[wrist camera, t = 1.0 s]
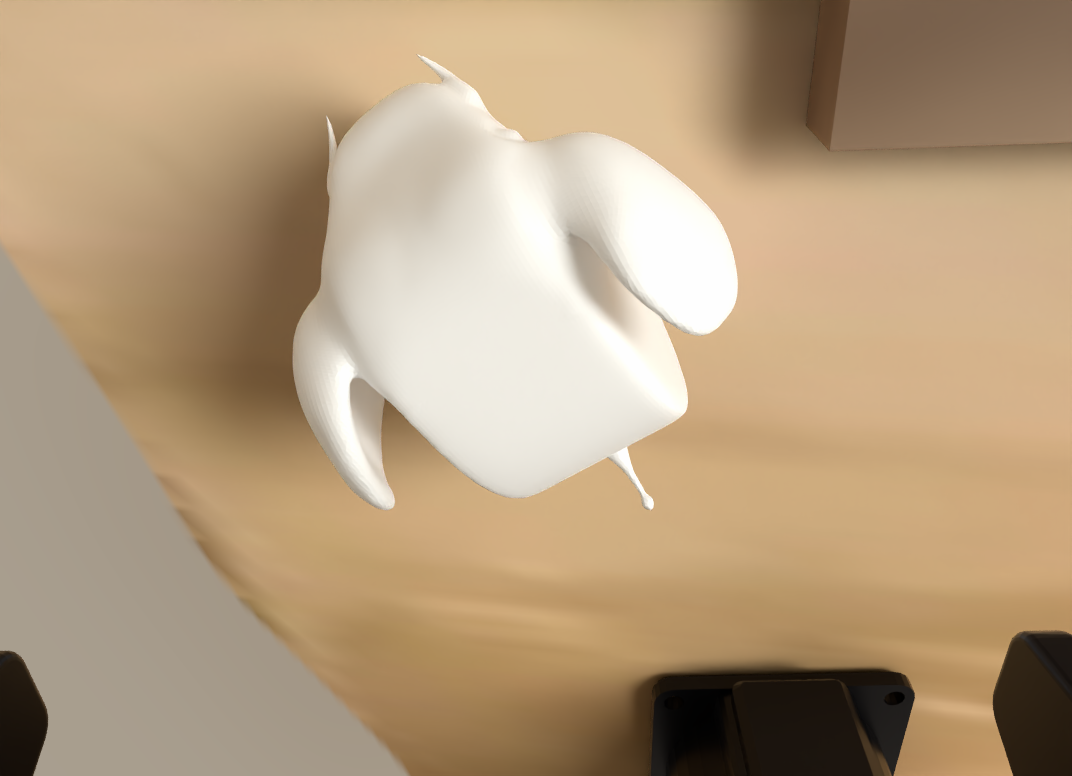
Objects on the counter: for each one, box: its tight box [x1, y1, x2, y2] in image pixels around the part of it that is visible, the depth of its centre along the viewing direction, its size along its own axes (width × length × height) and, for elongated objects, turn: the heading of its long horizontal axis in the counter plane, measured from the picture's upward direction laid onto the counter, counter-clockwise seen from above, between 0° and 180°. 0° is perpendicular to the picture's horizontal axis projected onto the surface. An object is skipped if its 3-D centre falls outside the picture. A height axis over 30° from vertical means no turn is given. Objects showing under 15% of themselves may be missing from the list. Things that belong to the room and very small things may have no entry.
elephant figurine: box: [293, 54, 738, 510], centre depth 14 cm, size 7×8×6 cm
